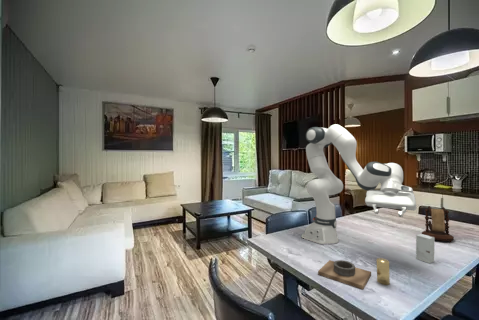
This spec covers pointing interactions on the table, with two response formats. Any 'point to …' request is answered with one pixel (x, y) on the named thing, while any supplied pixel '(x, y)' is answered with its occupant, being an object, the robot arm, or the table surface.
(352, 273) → the ring holder
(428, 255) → the skincare box
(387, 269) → the cylinder
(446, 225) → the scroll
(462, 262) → the table surface
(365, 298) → the table surface
